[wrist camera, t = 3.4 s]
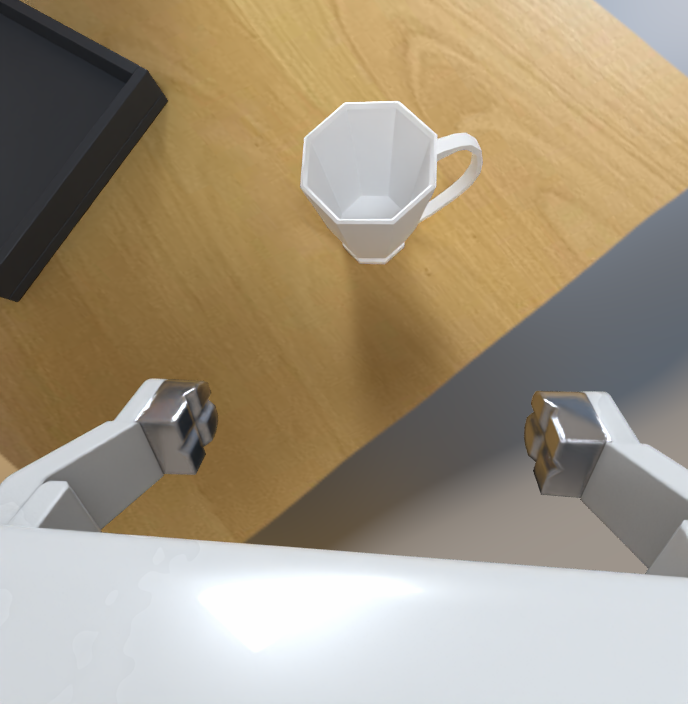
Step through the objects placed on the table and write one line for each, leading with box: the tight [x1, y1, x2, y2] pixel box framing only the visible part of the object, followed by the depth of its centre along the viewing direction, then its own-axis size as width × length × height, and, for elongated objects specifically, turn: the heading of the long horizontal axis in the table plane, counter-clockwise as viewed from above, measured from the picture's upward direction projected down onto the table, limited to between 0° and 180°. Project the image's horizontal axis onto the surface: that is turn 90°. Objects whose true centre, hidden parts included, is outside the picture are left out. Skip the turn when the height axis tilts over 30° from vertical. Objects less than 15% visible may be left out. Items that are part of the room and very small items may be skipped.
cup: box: [300, 101, 483, 264], centre depth 24 cm, size 7×10×8 cm
